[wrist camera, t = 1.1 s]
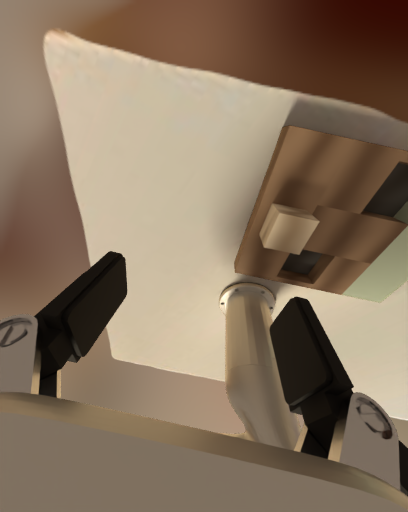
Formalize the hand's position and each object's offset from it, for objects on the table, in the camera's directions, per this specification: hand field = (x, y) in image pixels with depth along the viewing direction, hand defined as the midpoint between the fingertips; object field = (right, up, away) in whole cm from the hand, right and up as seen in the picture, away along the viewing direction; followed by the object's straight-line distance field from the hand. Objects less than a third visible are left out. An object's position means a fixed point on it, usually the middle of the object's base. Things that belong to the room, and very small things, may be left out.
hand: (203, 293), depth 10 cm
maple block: (+12, +7, +15) cm, 21 cm away
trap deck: (+18, +7, +18) cm, 27 cm away
